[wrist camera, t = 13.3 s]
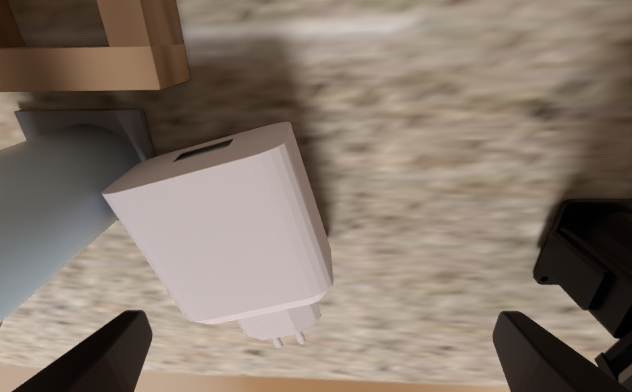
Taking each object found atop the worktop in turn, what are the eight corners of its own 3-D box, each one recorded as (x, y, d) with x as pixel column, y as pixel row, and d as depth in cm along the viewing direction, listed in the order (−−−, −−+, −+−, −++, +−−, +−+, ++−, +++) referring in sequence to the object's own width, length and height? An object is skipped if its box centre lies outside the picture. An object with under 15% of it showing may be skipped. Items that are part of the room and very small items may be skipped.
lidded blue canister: (111, 103, 17) (-244, 215, 6) (169, 200, 20) (-15, 394, 9) (20, 137, 18) (-417, 283, 7) (87, 225, 21) (-166, 426, 10)
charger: (237, 327, 25) (140, 159, 19) (350, 304, 24) (291, 117, 17) (223, 387, 21) (90, 198, 14) (358, 362, 20) (284, 145, 13)
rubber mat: (142, 108, 18) (138, 110, 17) (170, 216, 21) (168, 219, 20) (20, 110, 18) (14, 111, 17) (66, 217, 21) (62, 220, 21)
